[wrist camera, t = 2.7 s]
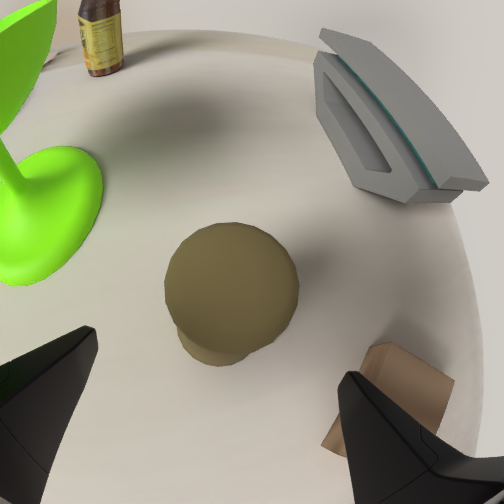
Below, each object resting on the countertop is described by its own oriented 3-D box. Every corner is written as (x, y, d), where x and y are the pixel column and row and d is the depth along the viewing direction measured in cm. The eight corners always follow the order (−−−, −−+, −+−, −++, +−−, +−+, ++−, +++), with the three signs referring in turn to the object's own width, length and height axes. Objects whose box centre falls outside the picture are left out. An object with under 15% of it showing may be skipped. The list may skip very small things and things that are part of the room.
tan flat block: (395, 468, 15) (416, 474, 13) (320, 445, 16) (338, 455, 13) (433, 380, 19) (455, 378, 17) (370, 344, 20) (391, 339, 17)
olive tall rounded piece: (246, 276, 21) (286, 186, 11) (271, 352, 19) (346, 330, 9) (167, 295, 19) (134, 214, 9) (189, 376, 17) (171, 387, 7)
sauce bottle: (93, 65, 31) (84, -33, 13) (127, 58, 32) (125, -43, 14) (83, 83, 28) (68, -28, 10) (120, 75, 30) (114, -42, 12)
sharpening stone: (425, 235, 26) (489, 182, 16) (377, 243, 24) (450, 176, 15) (344, 95, 36) (370, 42, 26) (299, 89, 34) (322, 27, 24)
